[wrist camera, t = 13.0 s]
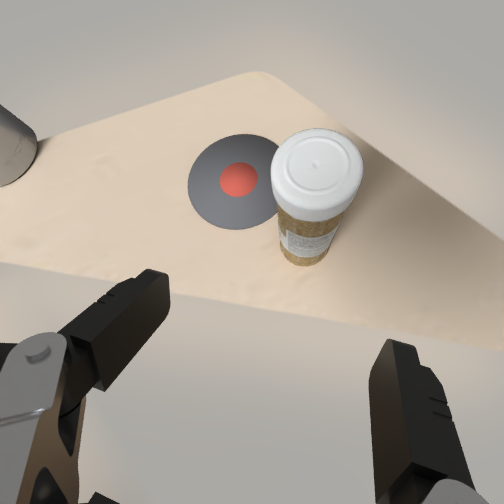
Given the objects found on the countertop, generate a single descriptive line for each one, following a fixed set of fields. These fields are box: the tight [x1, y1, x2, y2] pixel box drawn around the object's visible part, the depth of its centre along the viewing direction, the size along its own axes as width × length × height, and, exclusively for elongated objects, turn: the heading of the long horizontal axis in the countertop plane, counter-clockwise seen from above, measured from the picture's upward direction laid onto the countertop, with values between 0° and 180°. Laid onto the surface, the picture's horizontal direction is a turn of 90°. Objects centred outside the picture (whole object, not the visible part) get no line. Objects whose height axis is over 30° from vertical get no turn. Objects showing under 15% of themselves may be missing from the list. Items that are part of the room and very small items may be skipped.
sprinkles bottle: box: [271, 128, 363, 266], centre depth 20 cm, size 5×5×14 cm
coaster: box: [188, 134, 279, 230], centre depth 29 cm, size 11×11×1 cm
